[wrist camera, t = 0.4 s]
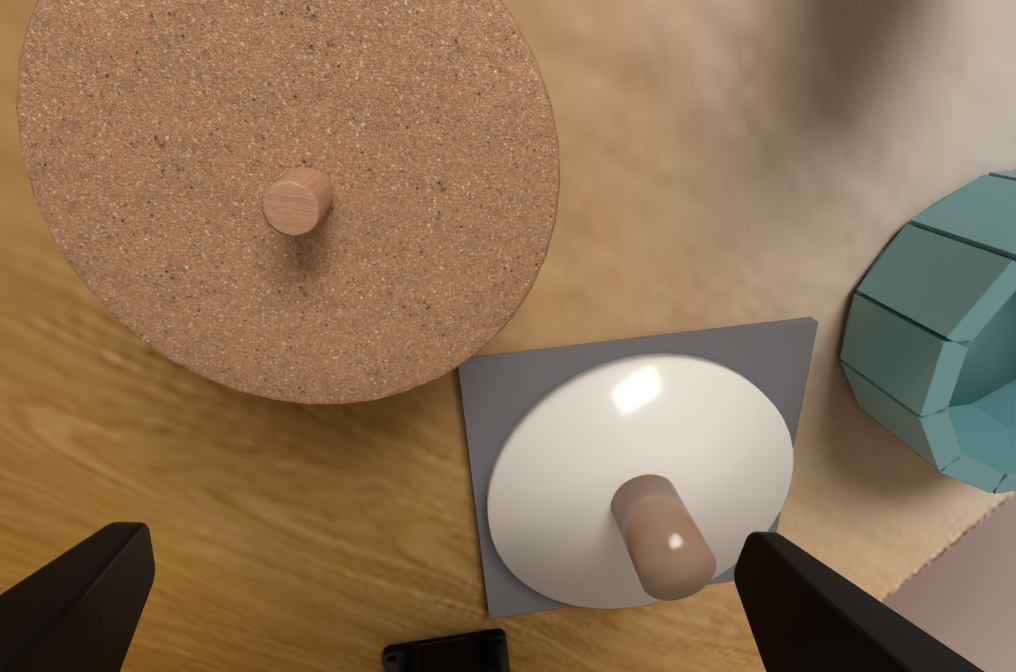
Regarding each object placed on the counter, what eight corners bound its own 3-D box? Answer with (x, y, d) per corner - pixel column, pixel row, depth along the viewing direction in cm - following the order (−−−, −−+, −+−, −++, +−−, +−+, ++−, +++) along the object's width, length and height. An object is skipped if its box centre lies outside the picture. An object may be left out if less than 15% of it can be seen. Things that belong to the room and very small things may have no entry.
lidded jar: (491, 306, 22) (528, 460, 13) (193, 278, 20) (18, 436, 11) (540, -13, 17) (642, -84, 9) (160, -89, 15) (-164, -271, 7)
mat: (762, 567, 30) (767, 575, 30) (488, 610, 29) (489, 618, 29) (810, 317, 24) (818, 322, 23) (457, 359, 22) (458, 365, 22)
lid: (759, 569, 30) (817, 659, 25) (498, 610, 29) (511, 711, 24) (804, 333, 23) (891, 397, 19) (471, 374, 22) (482, 451, 18)
